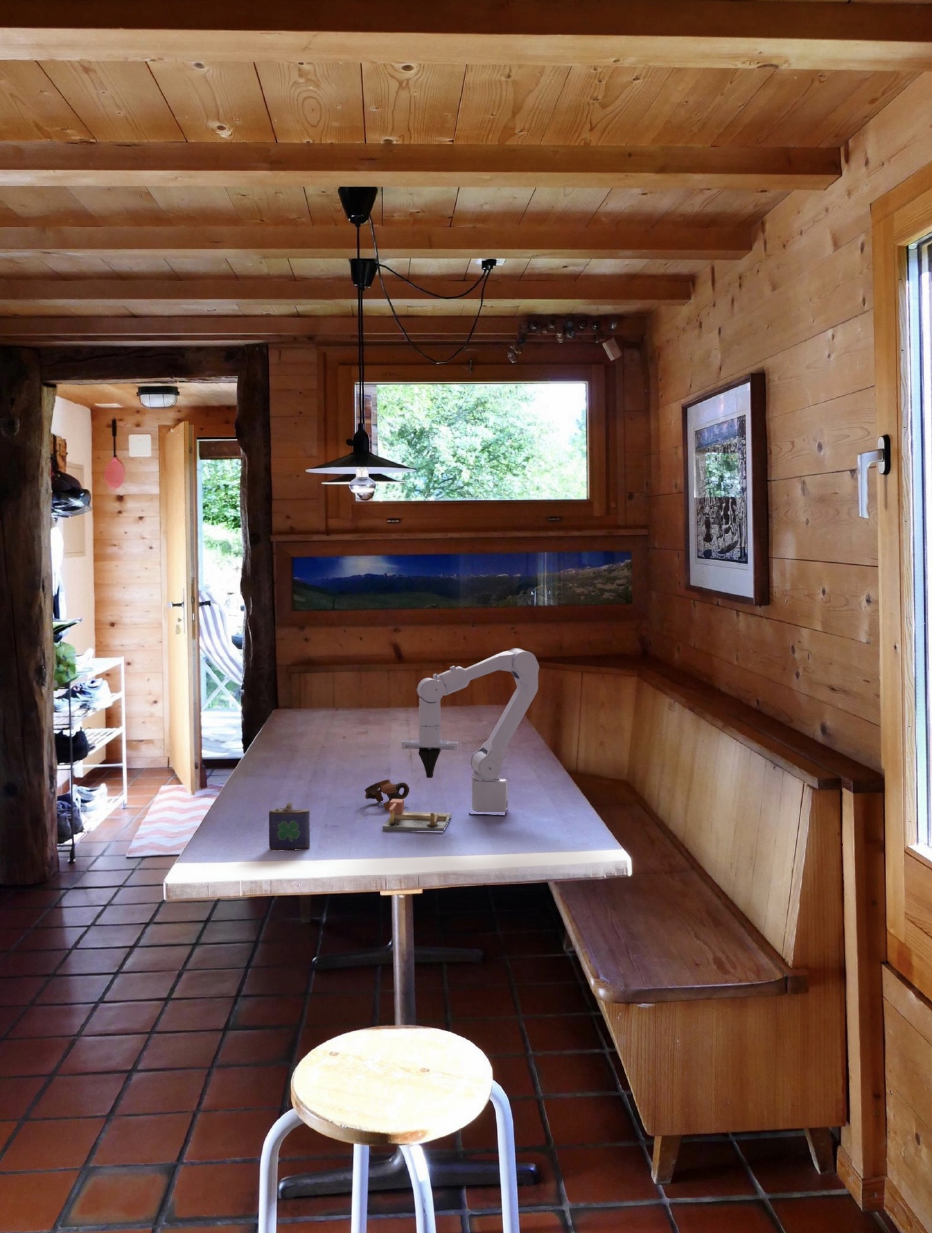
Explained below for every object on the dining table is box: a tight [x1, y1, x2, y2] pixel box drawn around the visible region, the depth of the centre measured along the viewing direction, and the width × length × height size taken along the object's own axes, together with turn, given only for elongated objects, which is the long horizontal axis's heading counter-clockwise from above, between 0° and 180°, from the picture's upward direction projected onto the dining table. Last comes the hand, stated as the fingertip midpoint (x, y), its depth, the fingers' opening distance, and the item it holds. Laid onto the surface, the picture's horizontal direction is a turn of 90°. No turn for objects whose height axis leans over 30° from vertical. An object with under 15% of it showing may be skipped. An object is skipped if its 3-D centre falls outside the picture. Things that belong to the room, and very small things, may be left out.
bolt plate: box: [382, 810, 453, 832], centre depth 237 cm, size 15×14×1 cm
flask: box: [268, 802, 311, 851], centre depth 216 cm, size 9×3×11 cm, turn 95°
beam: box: [394, 812, 447, 826], centre depth 235 cm, size 14×7×3 cm, turn 83°
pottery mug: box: [364, 779, 410, 811], centre depth 255 cm, size 12×10×8 cm
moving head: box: [388, 798, 405, 823], centre depth 235 cm, size 3×9×4 cm, turn 173°
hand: (429, 777), depth 245 cm, fingers closed
